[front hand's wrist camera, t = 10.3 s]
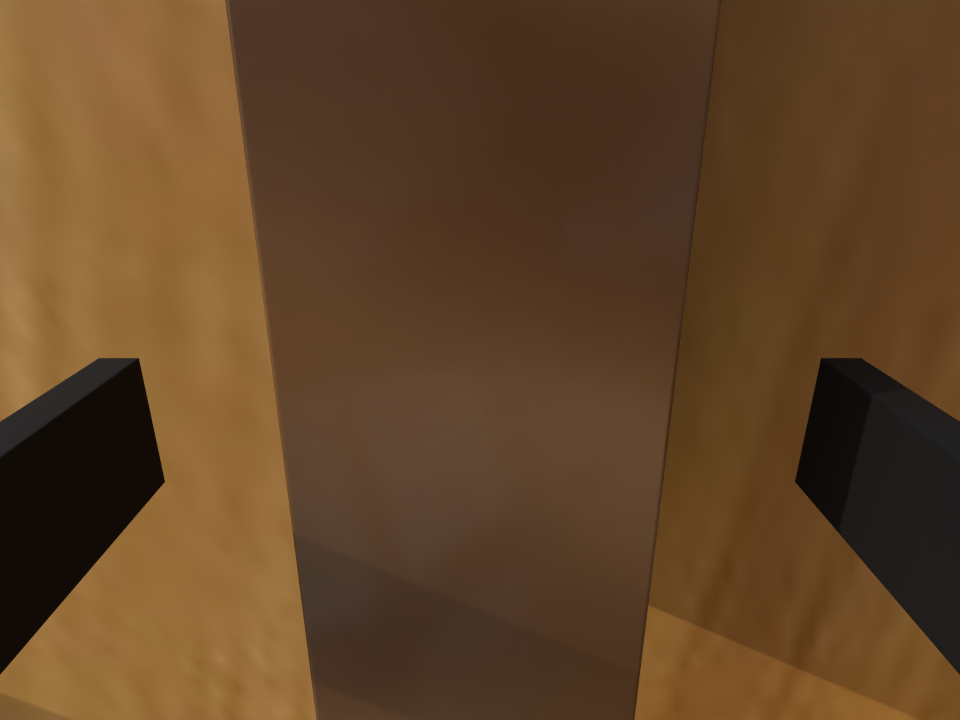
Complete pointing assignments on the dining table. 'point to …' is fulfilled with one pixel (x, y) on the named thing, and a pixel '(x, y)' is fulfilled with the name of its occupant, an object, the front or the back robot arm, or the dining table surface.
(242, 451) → the dining table surface
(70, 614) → the dining table surface
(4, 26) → the dining table surface
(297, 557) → the beam
